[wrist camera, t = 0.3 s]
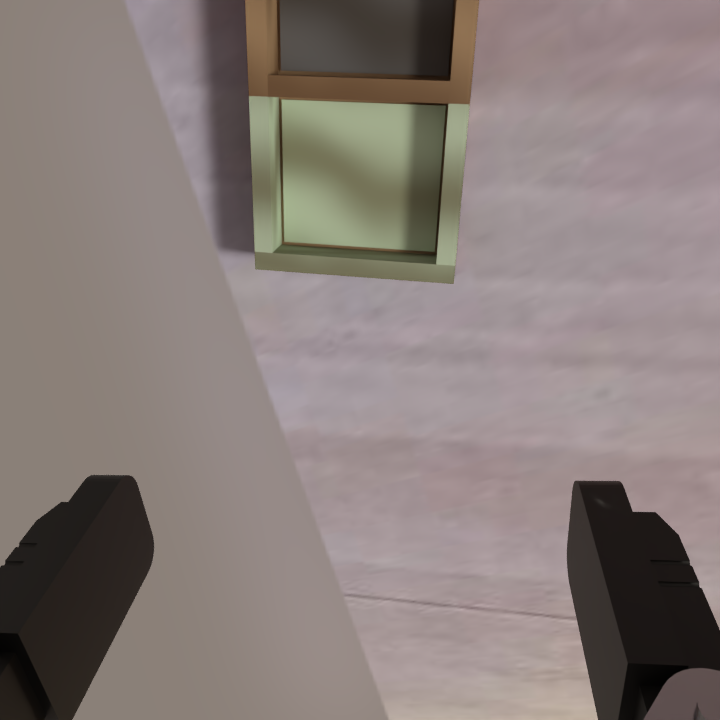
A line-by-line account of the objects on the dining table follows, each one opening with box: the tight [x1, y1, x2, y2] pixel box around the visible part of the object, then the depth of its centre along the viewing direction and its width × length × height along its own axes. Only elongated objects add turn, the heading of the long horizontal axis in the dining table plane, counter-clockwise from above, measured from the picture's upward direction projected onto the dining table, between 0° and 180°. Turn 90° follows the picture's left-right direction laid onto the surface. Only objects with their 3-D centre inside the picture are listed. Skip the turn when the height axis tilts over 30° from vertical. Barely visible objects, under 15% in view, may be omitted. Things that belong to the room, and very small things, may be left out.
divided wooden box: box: [245, 0, 479, 284], centre depth 33 cm, size 24×11×3 cm, turn 178°
